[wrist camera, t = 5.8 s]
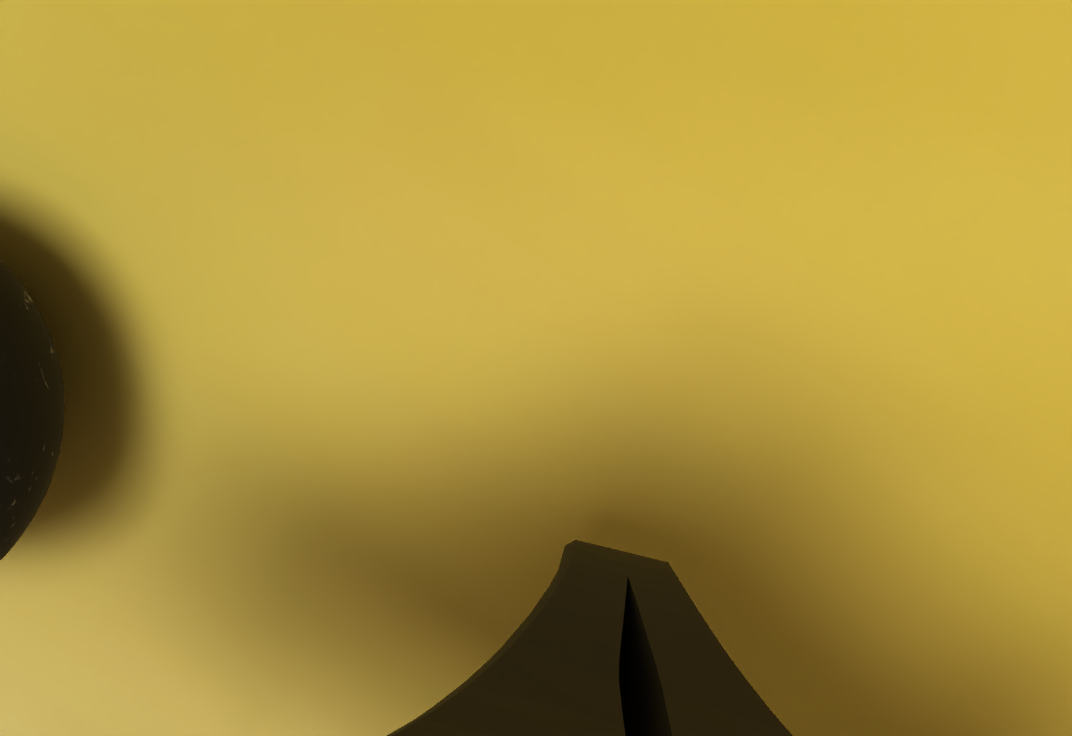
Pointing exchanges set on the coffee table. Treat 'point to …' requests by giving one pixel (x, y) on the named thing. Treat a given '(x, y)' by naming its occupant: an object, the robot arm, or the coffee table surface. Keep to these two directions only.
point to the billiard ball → (25, 409)
